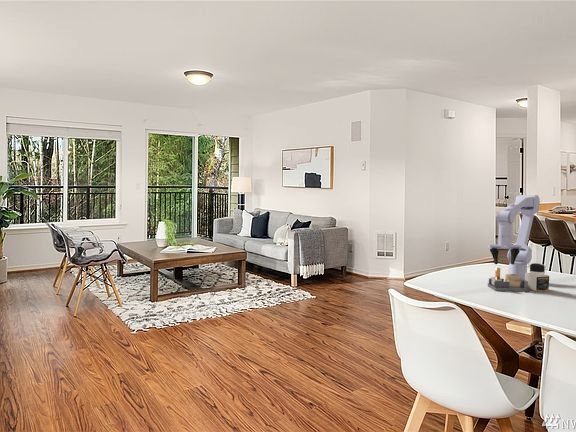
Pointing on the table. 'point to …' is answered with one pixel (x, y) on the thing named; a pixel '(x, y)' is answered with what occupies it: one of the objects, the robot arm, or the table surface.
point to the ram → (496, 276)
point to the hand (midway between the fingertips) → (504, 264)
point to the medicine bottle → (537, 278)
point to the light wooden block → (513, 280)
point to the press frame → (505, 286)
